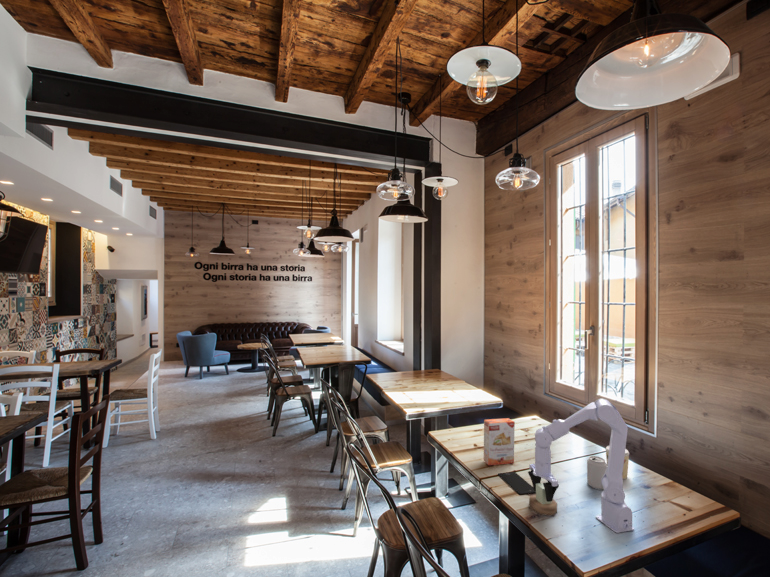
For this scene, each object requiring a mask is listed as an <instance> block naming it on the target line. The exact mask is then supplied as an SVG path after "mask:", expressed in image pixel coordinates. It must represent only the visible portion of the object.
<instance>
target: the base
mask: <svg viewBox="0 0 770 577" xmlns="http://www.w3.org/2000/svg"><path fill="white" fill-rule="evenodd" d="M528 500H529V501H528V503H529V508H530V509H531V510H532V511H533V512H535V513H536V514H540V515H543V516H554V515H556V514H557V513H558V502H557V501H556V500H555V499H554V498H553V500H552V501H551V503H550V504H543V505H542V504H541V503H540V502H539V501H538V500H537V499H536V493H534V494H531V495H530V496H529V499H528Z"/></svg>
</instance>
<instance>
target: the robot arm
mask: <svg viewBox="0 0 770 577" xmlns="http://www.w3.org/2000/svg"><path fill="white" fill-rule="evenodd" d="M598 419H599V420H601V421H602V422H603V423H605V424H606V425H608V426H609V427H610V428H611V432H610V440H609V445H608V446H609V455H608V463H607V462H606V464H607V469H606V470H605V474H604V476H603V477H602V479H601V484H602V486H603V489H602V490H603V491H602V492H601V494H600V496H601V497H600V500H601V503H600V504H601V506H600V509H601V512H600V513H601V514H600V515H595V518H596V519H597V520H598V521H600V522H601V523H602V524H604V525H605V526H606V527H608V528H609V529H611V530H612V531H613V532H615V533H616V534H619V533H625V532H630V531H634V530H635V528H634V526H633V511H632V509H631V508H630V507H629V506H628V505H627V504H626V502H625V498H626V494H625V490H624V479H623V478H622V473H623V465H624V457H625V449H627V448H626V447H627V446H626V445H627V438H628V428H629V427H628V425H627V423H626V422H625V420H624V419H623V417H622V415H621V414H620V412H619V411H618V409H617V406H615V405H614V404H613V403H612V402H611V401H609V399H606V398H598V399H597V400H595V401H592V402H590V403H588V404H587V405H585V406H584V407H582V408H581V409H579V410H578V411H576V412H575V413H573V414H571V415H570V416H568V417H567V418H565V419H560V418H558V419H553V420H552V422H551V423H549V424H548V425H546V426H544V425H543V426H542V427H541V428H538V429H536V431H535V433H534V440H535V443H534V444H535V447H534V448H535V449H534V463H529V468H528V469H529V471H528V472H527V474H528V476H529V477H530V481H531V483H532V487H533V488H534V491H536V484H538V483H543V485H544V488H545V492H546V500H547V502H550V501H552V500H553V499H554V495H555V494H556V492H557V489H558V488H559V485H560V484H559V482H558V480H557V479H556V478H555V476H554V475H553V473H552V450H551V445H552V442H555V441H557V440H559V439H560V438H562V437H565V435H567V434H569V432H570V430H571V428H573V427H575V426H578V425H579V424H582V423H583V422H585V421H587V420H592V421H596V422H597V421H599V420H598ZM542 479H544V480H546V482H541V481H542Z"/></svg>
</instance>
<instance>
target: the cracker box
mask: <svg viewBox="0 0 770 577" xmlns="http://www.w3.org/2000/svg"><path fill="white" fill-rule="evenodd" d="M483 462H484V463H485V464H487V465H488V466H496V465H499V466H500V465H509V464H510V465H511V464H515V421H513V420H512V419H510V418H509V417H507V418H491V419H489V418H488V419H484V420H483Z"/></svg>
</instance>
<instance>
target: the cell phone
mask: <svg viewBox="0 0 770 577" xmlns="http://www.w3.org/2000/svg"><path fill="white" fill-rule="evenodd" d="M497 476H499V477H500V479H502V480H503V481H504V482H505V484H507V485H508V486H509V487H510V488H512V490H513V491H515V492H516V493H517V494H518V495H519V496H524V495H526V496H527V495H534V494H536V491H534V488H533V485H531V484H530V483H529V482H528V481H527V480H525V479H524V478H523V477H521V476H520V475H519V474H518V473H517V472H515V471H507V472H499V473H497Z"/></svg>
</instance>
